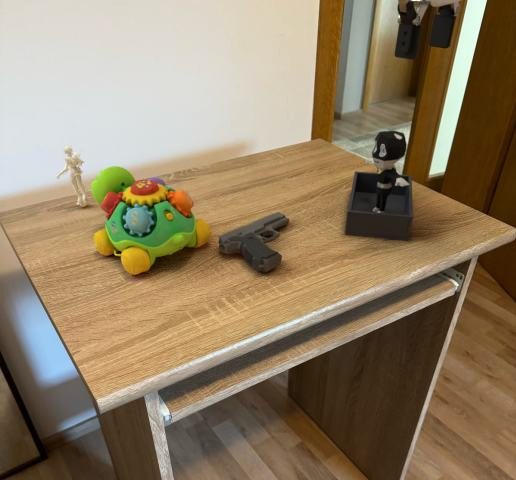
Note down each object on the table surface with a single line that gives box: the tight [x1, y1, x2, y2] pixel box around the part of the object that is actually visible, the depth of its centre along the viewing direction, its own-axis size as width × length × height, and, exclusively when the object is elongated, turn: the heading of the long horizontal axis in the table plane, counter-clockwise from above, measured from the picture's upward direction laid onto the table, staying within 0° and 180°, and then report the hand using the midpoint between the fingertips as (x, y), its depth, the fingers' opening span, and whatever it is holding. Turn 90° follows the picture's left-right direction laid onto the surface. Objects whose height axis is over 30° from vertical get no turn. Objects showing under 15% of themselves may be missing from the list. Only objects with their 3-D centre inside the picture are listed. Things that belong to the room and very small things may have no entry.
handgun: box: [218, 211, 290, 273], centre depth 84 cm, size 3×16×12 cm
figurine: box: [55, 145, 89, 208], centre depth 94 cm, size 5×6×12 cm
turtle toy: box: [90, 165, 212, 276], centre depth 83 cm, size 17×23×12 cm
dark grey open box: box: [344, 170, 414, 241], centre depth 92 cm, size 11×18×4 cm, turn 167°
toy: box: [365, 130, 409, 213], centre depth 88 cm, size 13×6×15 cm, turn 17°
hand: (422, 52), depth 70 cm, fingers open, 9 cm apart
